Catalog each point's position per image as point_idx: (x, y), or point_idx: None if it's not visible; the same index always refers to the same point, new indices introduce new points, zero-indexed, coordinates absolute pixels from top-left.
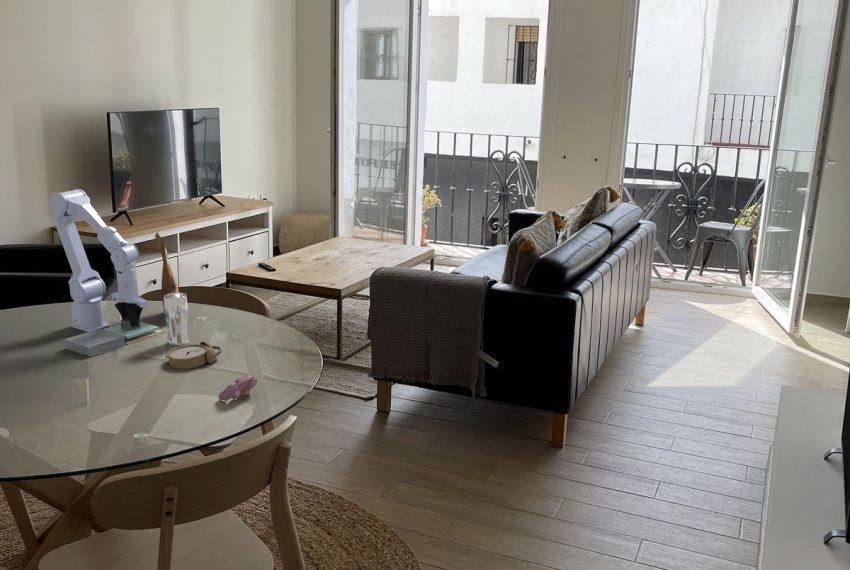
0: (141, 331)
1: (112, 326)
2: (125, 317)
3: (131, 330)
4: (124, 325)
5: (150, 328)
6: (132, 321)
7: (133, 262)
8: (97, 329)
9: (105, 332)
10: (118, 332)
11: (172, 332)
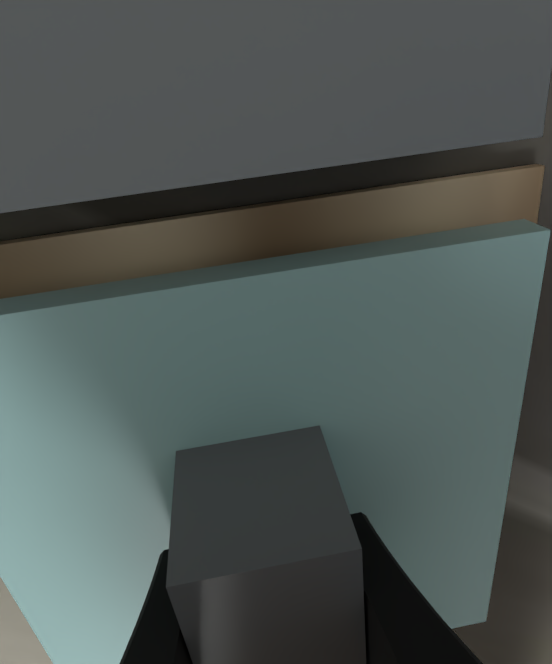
0: (23, 559)
1: (517, 394)
2: (377, 642)
3: (156, 494)
4: (238, 498)
5: (80, 649)
6: (127, 648)
7: None
8: (534, 78)
9: (212, 88)
10: (197, 335)
11: None
